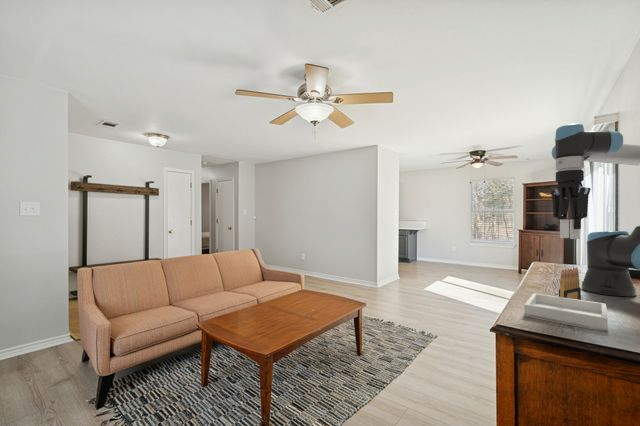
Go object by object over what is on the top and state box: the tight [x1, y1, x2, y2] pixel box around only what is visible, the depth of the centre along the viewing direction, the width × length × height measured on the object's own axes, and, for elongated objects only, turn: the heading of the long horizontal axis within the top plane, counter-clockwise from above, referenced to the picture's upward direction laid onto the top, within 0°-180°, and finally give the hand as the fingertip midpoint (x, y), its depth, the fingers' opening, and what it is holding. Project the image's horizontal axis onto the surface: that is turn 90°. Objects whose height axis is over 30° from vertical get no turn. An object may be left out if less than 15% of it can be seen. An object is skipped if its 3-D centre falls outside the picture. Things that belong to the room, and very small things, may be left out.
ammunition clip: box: [558, 267, 582, 300], centre depth 104 cm, size 11×2×12 cm, turn 116°
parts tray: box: [523, 292, 609, 333], centre depth 91 cm, size 18×18×4 cm
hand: (569, 238), depth 104 cm, fingers open, 3 cm apart
